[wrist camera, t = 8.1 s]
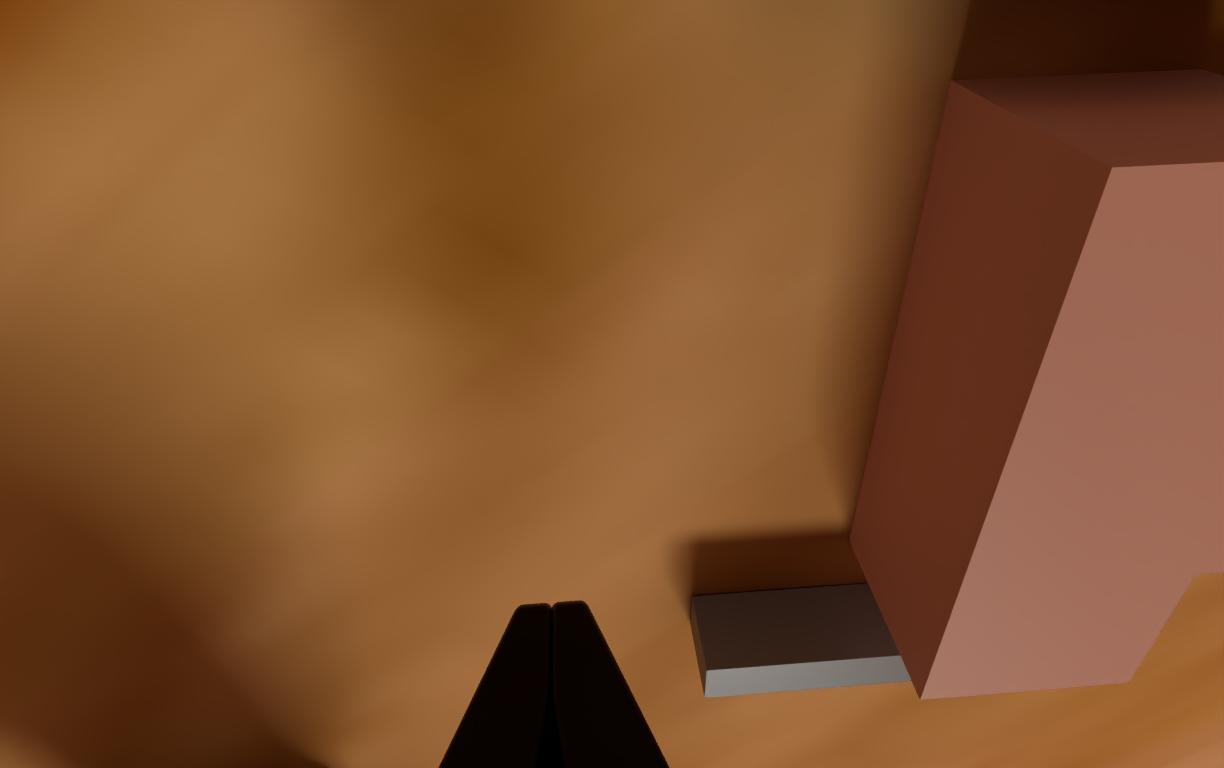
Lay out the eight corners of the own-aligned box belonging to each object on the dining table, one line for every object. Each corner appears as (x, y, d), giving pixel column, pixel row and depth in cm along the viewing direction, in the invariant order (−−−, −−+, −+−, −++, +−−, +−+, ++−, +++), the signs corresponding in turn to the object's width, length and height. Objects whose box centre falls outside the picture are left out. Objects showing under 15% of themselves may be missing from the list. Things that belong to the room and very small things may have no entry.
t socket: (690, 623, 18) (704, 697, 17) (733, -112, 10) (771, -107, 8) (1351, 573, 19) (1427, 639, 18) (1923, -146, 11) (2175, -147, 9)
